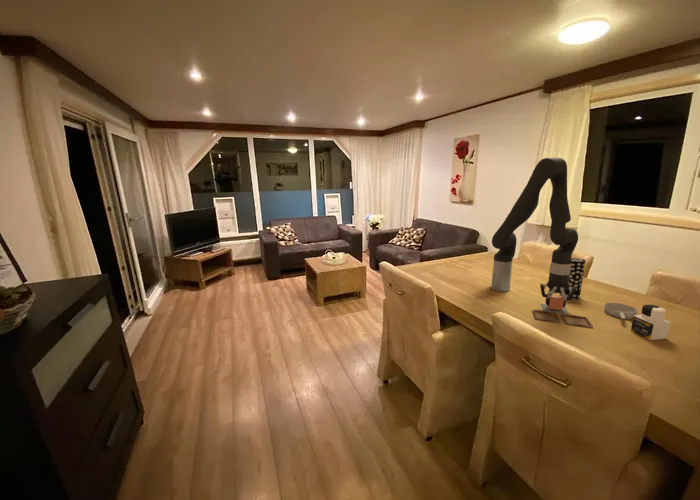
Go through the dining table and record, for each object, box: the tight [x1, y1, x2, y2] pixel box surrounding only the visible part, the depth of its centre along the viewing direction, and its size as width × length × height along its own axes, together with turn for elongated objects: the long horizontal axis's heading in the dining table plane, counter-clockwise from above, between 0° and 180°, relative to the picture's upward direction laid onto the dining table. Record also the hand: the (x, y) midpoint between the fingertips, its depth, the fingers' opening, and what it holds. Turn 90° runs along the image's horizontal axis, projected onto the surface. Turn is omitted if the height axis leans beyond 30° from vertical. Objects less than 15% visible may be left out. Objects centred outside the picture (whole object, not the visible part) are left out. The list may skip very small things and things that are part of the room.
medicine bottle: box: [630, 304, 671, 341], centre depth 109 cm, size 7×7×12 cm
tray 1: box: [531, 309, 561, 324], centre depth 127 cm, size 9×9×1 cm
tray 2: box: [560, 314, 594, 329], centre depth 121 cm, size 9×9×1 cm
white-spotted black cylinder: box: [559, 257, 586, 301], centre depth 145 cm, size 8×8×20 cm
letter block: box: [548, 294, 564, 310], centre depth 132 cm, size 5×5×5 cm
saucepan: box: [604, 302, 639, 320], centre depth 123 cm, size 11×18×4 cm, turn 141°
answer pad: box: [540, 303, 571, 315], centre depth 133 cm, size 10×10×1 cm
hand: (555, 306), depth 133 cm, fingers closed on letter block, 5 cm apart
